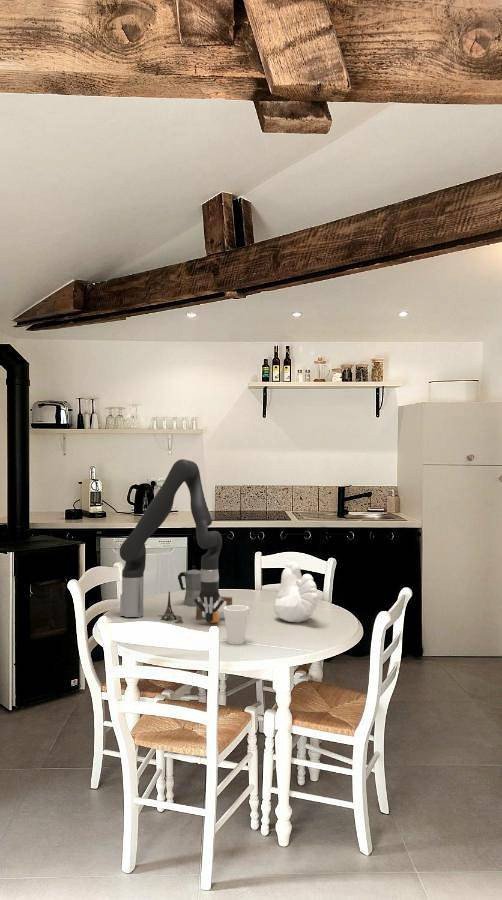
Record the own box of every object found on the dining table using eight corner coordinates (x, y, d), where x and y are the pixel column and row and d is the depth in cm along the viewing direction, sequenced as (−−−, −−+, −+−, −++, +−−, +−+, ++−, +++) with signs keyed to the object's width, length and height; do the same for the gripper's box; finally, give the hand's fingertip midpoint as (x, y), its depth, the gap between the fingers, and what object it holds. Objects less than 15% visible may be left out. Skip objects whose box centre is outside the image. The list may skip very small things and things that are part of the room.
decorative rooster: (269, 616, 313) (270, 559, 313) (303, 614, 317) (304, 558, 317) (288, 630, 289) (289, 569, 289) (325, 628, 293) (325, 567, 293)
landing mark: (201, 617, 309) (201, 617, 309) (207, 611, 321) (207, 611, 321) (228, 619, 307) (228, 618, 307) (233, 612, 319) (233, 612, 319)
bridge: (230, 621, 304) (231, 598, 304) (196, 619, 306) (196, 597, 306) (232, 619, 307) (232, 596, 307) (197, 618, 309) (197, 595, 309)
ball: (205, 608, 298) (209, 606, 304) (202, 622, 298) (207, 620, 304) (218, 611, 297) (223, 609, 302) (216, 625, 297) (220, 623, 302)
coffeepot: (199, 600, 344) (199, 563, 344) (210, 604, 336) (211, 565, 336) (172, 604, 334) (172, 566, 334) (183, 608, 327) (183, 569, 327)
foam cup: (248, 638, 276) (248, 605, 276) (249, 645, 267) (249, 610, 267) (223, 638, 276) (223, 605, 276) (223, 645, 267) (223, 610, 266)
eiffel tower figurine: (183, 624, 300) (184, 592, 300) (159, 625, 298) (159, 593, 298) (180, 616, 314) (180, 585, 314) (157, 616, 312) (157, 586, 312)
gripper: (191, 580, 294) (191, 623, 294) (223, 582, 291) (223, 624, 291) (196, 577, 301) (195, 618, 301) (227, 578, 299) (226, 620, 299)
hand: (209, 621), depth 296 cm, fingers closed
